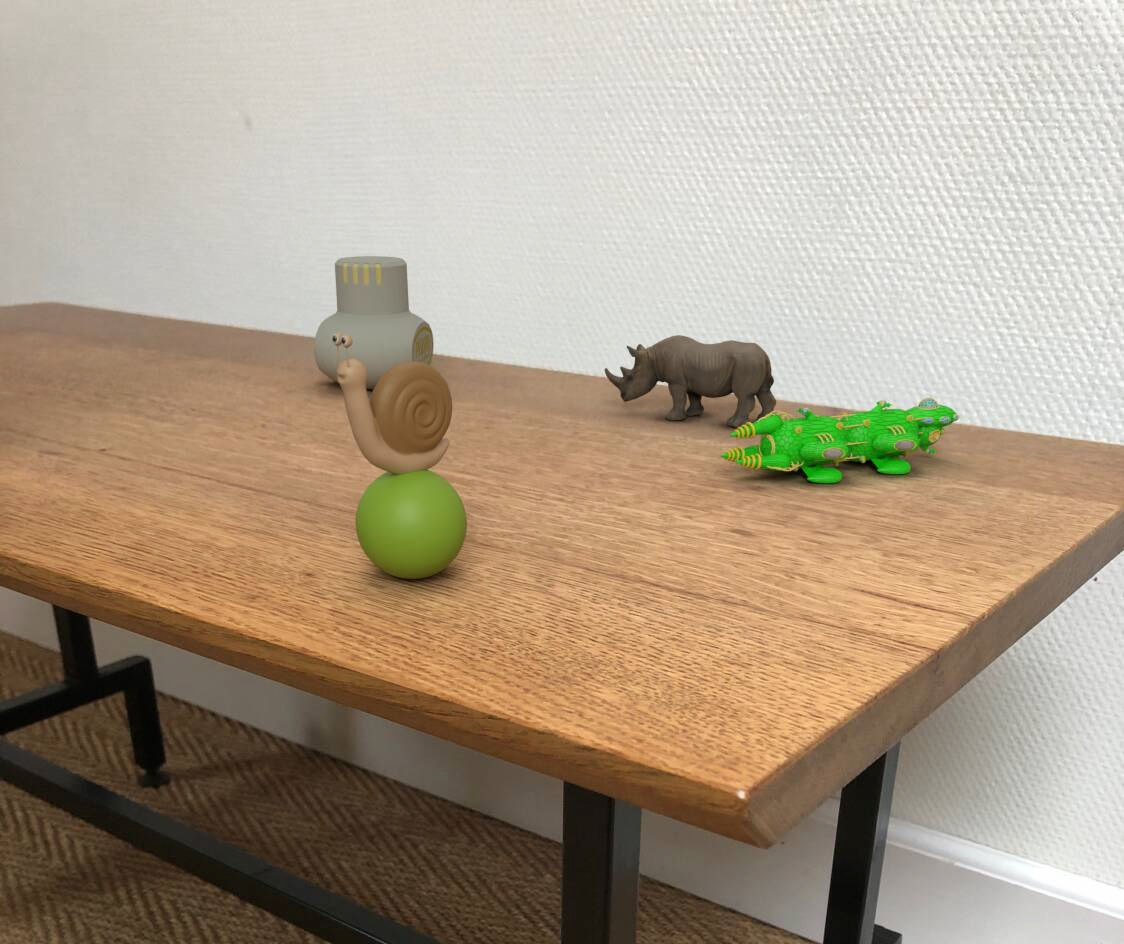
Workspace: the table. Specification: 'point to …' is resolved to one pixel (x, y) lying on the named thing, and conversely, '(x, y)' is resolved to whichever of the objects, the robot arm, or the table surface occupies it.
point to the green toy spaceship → (842, 439)
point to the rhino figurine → (700, 375)
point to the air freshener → (373, 319)
